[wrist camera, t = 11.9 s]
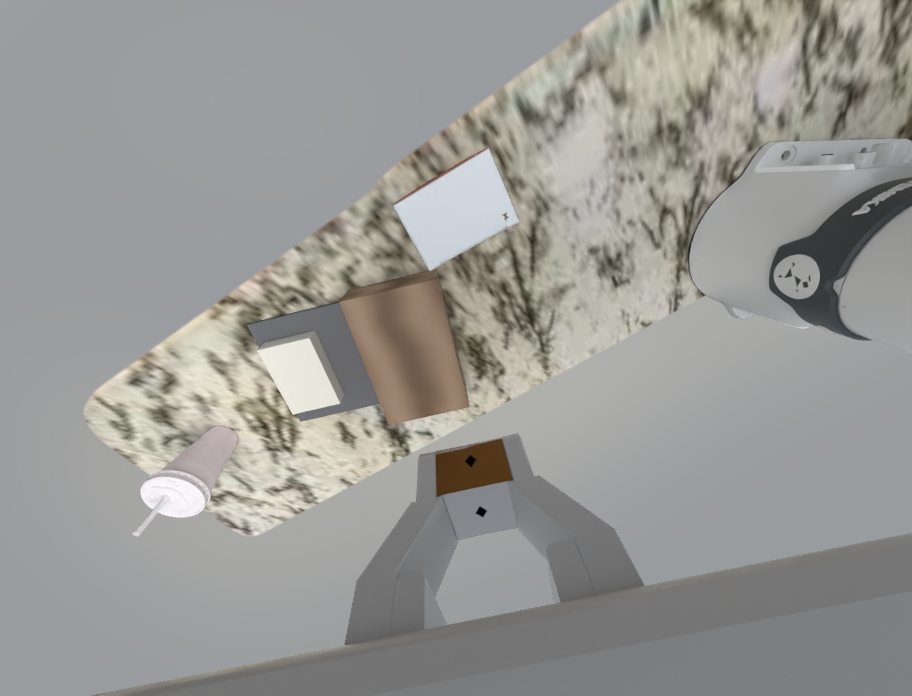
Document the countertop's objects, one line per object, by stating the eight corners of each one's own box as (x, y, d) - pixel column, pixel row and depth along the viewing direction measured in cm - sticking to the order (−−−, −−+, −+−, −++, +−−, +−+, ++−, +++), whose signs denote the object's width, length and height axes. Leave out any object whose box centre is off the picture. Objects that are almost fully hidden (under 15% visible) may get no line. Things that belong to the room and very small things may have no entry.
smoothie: (218, 409, 43) (130, 504, 30) (259, 439, 45) (193, 539, 33) (185, 433, 44) (87, 534, 31) (227, 462, 46) (152, 565, 34)
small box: (473, 154, 32) (491, 143, 22) (497, 210, 34) (523, 221, 25) (401, 197, 33) (389, 204, 24) (429, 248, 35) (429, 273, 26)
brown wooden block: (436, 269, 36) (436, 278, 33) (466, 388, 44) (469, 406, 40) (347, 290, 37) (339, 302, 33) (392, 405, 44) (388, 425, 40)
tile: (256, 350, 37) (264, 342, 38) (292, 414, 41) (298, 404, 42) (309, 338, 36) (315, 330, 38) (340, 403, 40) (344, 394, 42)
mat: (351, 299, 37) (350, 300, 37) (389, 399, 44) (389, 401, 43) (249, 323, 38) (247, 325, 37) (301, 419, 44) (300, 421, 44)
